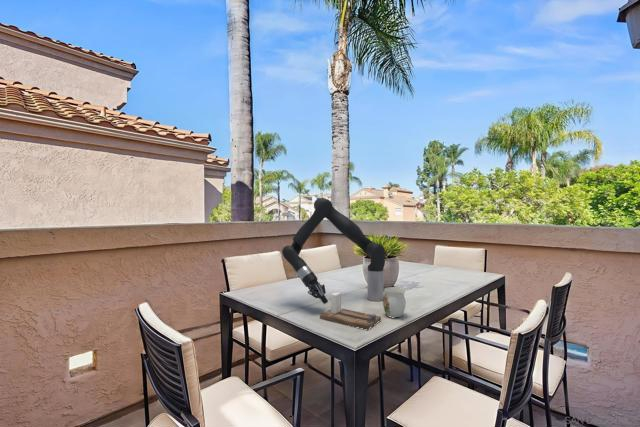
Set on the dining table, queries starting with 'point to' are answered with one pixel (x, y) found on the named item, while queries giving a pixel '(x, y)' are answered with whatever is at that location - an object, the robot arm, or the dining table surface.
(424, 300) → the dining table surface
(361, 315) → the board
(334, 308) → the slider tab
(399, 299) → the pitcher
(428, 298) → the dining table surface
